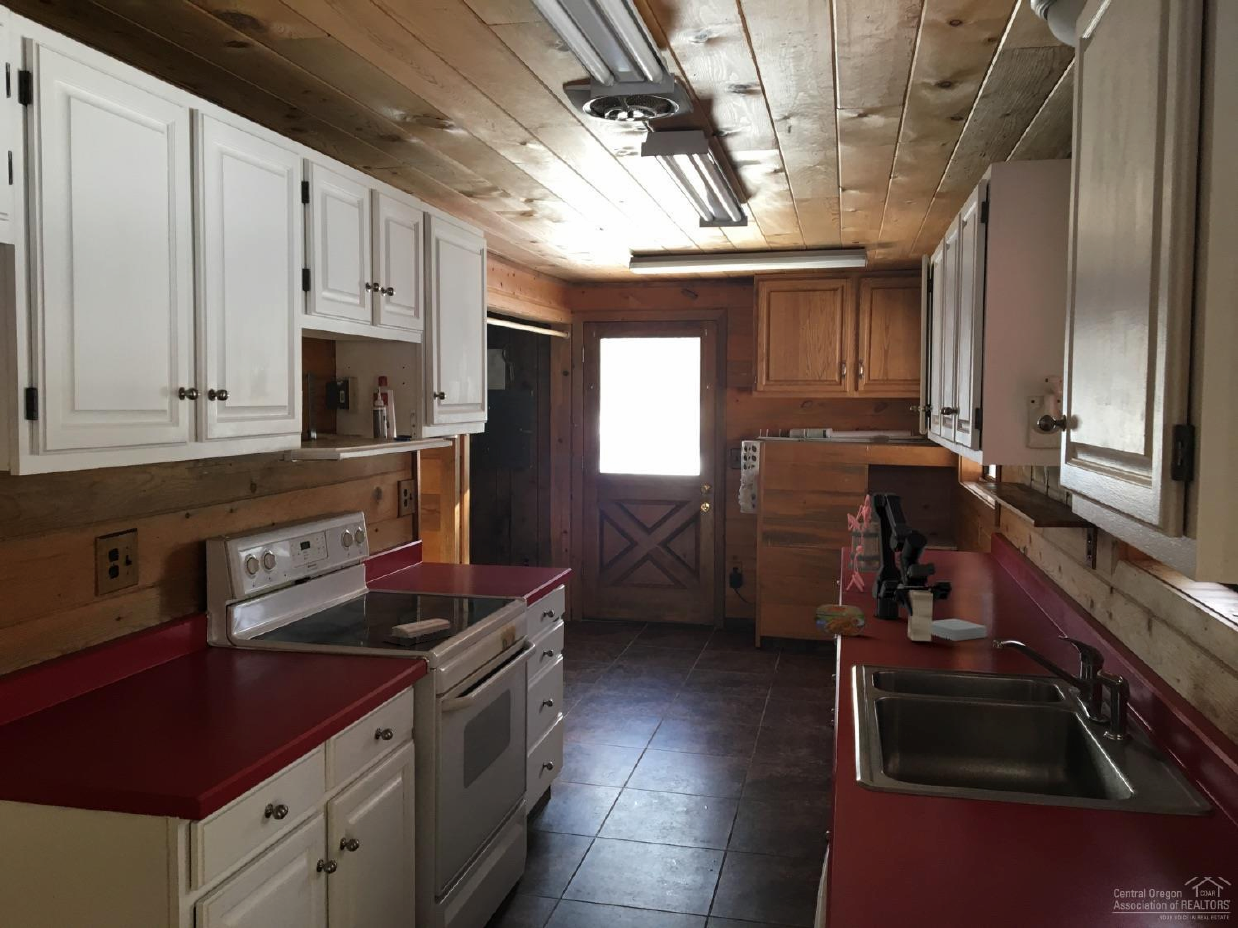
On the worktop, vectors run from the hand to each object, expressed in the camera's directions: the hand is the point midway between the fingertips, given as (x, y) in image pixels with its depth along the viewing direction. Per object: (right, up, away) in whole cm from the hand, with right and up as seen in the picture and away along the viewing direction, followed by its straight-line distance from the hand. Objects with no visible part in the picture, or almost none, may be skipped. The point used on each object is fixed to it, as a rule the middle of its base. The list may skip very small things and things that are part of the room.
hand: (921, 615), depth 260 cm
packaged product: (-139, -8, +4) cm, 139 cm away
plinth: (+13, -7, +11) cm, 19 cm away
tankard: (+22, -3, +131) cm, 133 cm away
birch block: (0, -7, +2) cm, 7 cm away
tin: (-20, -7, +12) cm, 24 cm away
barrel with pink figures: (+7, -4, +84) cm, 84 cm away
